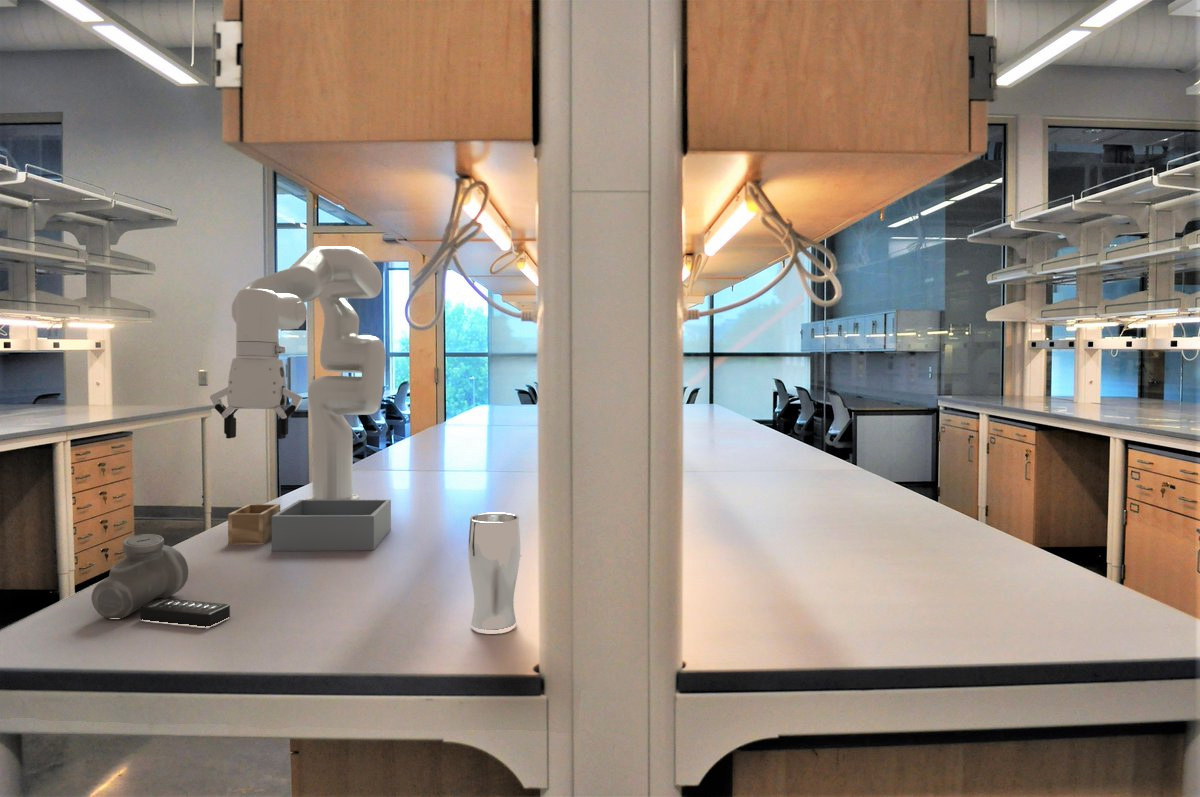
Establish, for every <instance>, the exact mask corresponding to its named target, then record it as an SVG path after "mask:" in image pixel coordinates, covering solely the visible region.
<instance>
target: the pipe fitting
mask: <svg viewBox="0 0 1200 797" xmlns="http://www.w3.org/2000/svg"><path fill="white" fill-rule="evenodd" d="M122 550H123V551H124V559H122V560H120V561H119V562H117V563H115V564H113V565H112V566H111V568H110V570H109V575H108V577H106V578H104V579H102V580H101V581H99V582H98V583H97V584H96V585H95V587H94V588H93V590H92V592H91V598H90V599H91V603H92V605H93V608H94V610H95V611H96V612H97V613H98V614H99V615H100V616H101V617H103V618H105V617H106V618H105V619H107V618H122V619H124V617H125V618H127V617H128V616H130V615H131V614H134V613H135V612H136V611H137V610H138V609H139V610H140V607H143V606H145V605H147V604H149V602H151V601H153V600H159V599H158V598H163V599H164V598H169V597H171V596H173V595H174V594H176V593H178V592H179V591H180V590H182V589H183V588H184V587H185V585H186V583H187V581H188V578H189V566H188V564H187V562H188V561H186V559H185V557H184V556H183V554H182V553H181V552H180V551H179V550H177V549H176V548H174V547H172V546H171V545H166V544H165V538H164V537H163V536H162V535H159V534H155V533H154V534H153V533H152V534H151V533H144V534H136V535H132V536H130V537H127V538H125V539H124V540H123V541H122ZM126 616H127V617H126Z"/></svg>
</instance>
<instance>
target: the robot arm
mask: <svg viewBox="0 0 1200 797" xmlns="http://www.w3.org/2000/svg"><path fill="white" fill-rule="evenodd" d="M382 289H383V277H382V274H381V271H380V269H379V268H378V267H377V265H376V264H375V263H374V262H373V261H372V260H371V259H370V258H369V257H368V256H367V255H366V254H365V253H364V252H363V251H361V250H359V249H358V248H355V247H353V246H327V245H326V246H316V247H311V248H309V249H307V251H306V252H304V253H303V254H302V255H301V256H300V257H299V258H298V259H297V260H296V261H295V262H294V263H293V264H292V265H291V266H290V267H289V268H286V269H283V270H280V271H277V272H274V273H270V274H268V275H266V276H263V277H259V278H257V279H255V280H253V281H250V282H249V283H248V284H246V285H245V287H243V288H242V289H240V290H239V291H238V292H237V294H236V296H235V297H234V299H233V301H232V304H231V316H232V319H233V321H234V322H235V324H236V328H235V329H236V330H235V332H236V333H235V335H236V337H235V338H236V339H235V340H236V343H235V344H236V345H235V347H236V348H235V357H234V358H232V361H231V364H230V369H229V373H228V383H227V387H226V388H223V389H221V390H219V391H218V392H214V393H213V394H211V395H210V396H209V400H210V401H211V402H212V405H213V406H214V408H215V411H217V413H219V415H221V417H222V418H223V433H224V435H225V438H226V439H233V438H234V439H235V438H236V437H237V418H236V417H235V415H236V413H237V412H238V411H239V410H240V409H242V410H244V409H248V410H256V409H257V410H274V411H275V413H276V414H277V415H278V418H277V420H276V421H277V422H276V438H277V439H279V440H282V439H286V437H287V435H288V434H289V419H290V418H291V417H292V415H293V414H295V412H296V411H297V410H298V408H299V406H300V405H301V403H302V401H303V399H304V398H303V396H301V395H300V394H298V393H296V392H294V391H291V390H290V389H288V388H287V384H286V374H285V367H284V366H285V365H284V362H283V359H279V358H278V357H280V355H281V354H285V353H286V347H285V346H281V345H280V344H279V330H282V331H283V330H285V331H287V330H295V329H299V328H300V327H301V326H302V325H303V324H304V323H305V321H306V319H307V315H308V313H307V312H308V310H307V307H306V304H305V303H309V302H311V301H314V300H315V299H318V301H319V303H320V306H321V308H322V311H323V316H324V317H323V319H324V321H323V327H322V328H323V330H322V336H321V344H320V352H319V362H320V365H321V367H322V368H323V370H325V371H327V372H332V373H348V374H349V373H350V374H361V375H362V376H349V375H348V376H347V375H324V376H320V377H316V378H314V380H312V381H311V382H310V383H309V385H308V388H307V399H308V405H309V411H310V415H311V416H310V417H311V430H312V431H311V433H312V434H311V437H312V438H311V439H312V440H311V441H312V442H311V444H312V448H311V449H312V451H311V452H312V454H311V457H312V459H311V460H312V462H311V464H312V467H311V468H312V476H311V478H312V480H311V481H312V482H311V485H312V486H311V488H312V489H311V490H312V495H310V496H307V497H306V498H305V500H360V496H359V495H358V494H355V493H353V491H354V488H353V485H354V484H353V479H354V478H353V471H354V470H353V466H354V465H353V459H354V458H353V456H354V455H353V453H354V452H353V451H354V450H353V449H354V448H353V446H354V445H353V444H354V440H353V438H354V437H353V434H354V433H353V429H352V427H351V425H350V423H349V422H348V420H347V419H346V418H345V415H348V416H349V415H354V416H355V415H357V416H361V415H364V416H365V415H367V416H368V415H373V414H375V413H376V412H378V410H380V406H381V404H382V403H381V402H382V397H383V389H384V379H385V372H386V361H387V360H386V359H387V358H386V357H387V356H386V354H387V353H386V349H385V345H384V342H383V341H382V340H381V339H380V338H379V337H377V336H374V335H361V334H360V335H359V328H360V316H359V315H358V313H357V311H355V308H353V306H352V305H351V304H350V303H349V301H348V300H346V299H374V298H376V297H378V296H379V295H380V293H381V291H382ZM225 397H227V405H228V406H227V407H226V406H225V404H224V403H223V402H222V399H223V398H225ZM287 398H288V399H290V400H291V404H290V406H288V407H287V408H286V405H287V400H288V399H287Z"/></svg>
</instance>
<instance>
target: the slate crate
mask: <svg viewBox="0 0 1200 797" xmlns="http://www.w3.org/2000/svg"><path fill="white" fill-rule="evenodd" d="M391 530H392V501H391V499H359V500H306V499H299V500H297V501H295V502H294V503H292V504H290V505H289V506H287V507H285V508H283V509H281V510H280V512H278V513H276V514H275V515H273V516H272V538H271V552H282V551H283V552H291V551H293V552H295V551H296V552H297V551H299V552H301V551H302V552H303V551H304V552H305V551H308V552H309V551H311V552H313V551H317V552H318V551H320V552H321V551H375V549H376V548H377V547H378V546H379V545H380V543H381V542H382V541H383V540H384V539H385V537H387V535H388V534H389V533H390V532H391Z"/></svg>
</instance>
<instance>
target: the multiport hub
mask: <svg viewBox="0 0 1200 797" xmlns="http://www.w3.org/2000/svg"><path fill="white" fill-rule="evenodd" d="M139 617H140V618H139V620H140V619H141V620H142V619H143V620H150V621H159V622H168V623H178V624H189V625H197V626H205V627H206V626H211V625H213V624H215V623H218V622H220V621H222V620H224V619H226V618H228V617H230V618H231V604H227V603H216V602H208V601H207V602H206V601H197V600H188V599H177V598H169V597H167V598H163V599H157V600H156V601H153V602H150V603H147V604H145V605H143V606H142V607H140V608H139Z"/></svg>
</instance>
